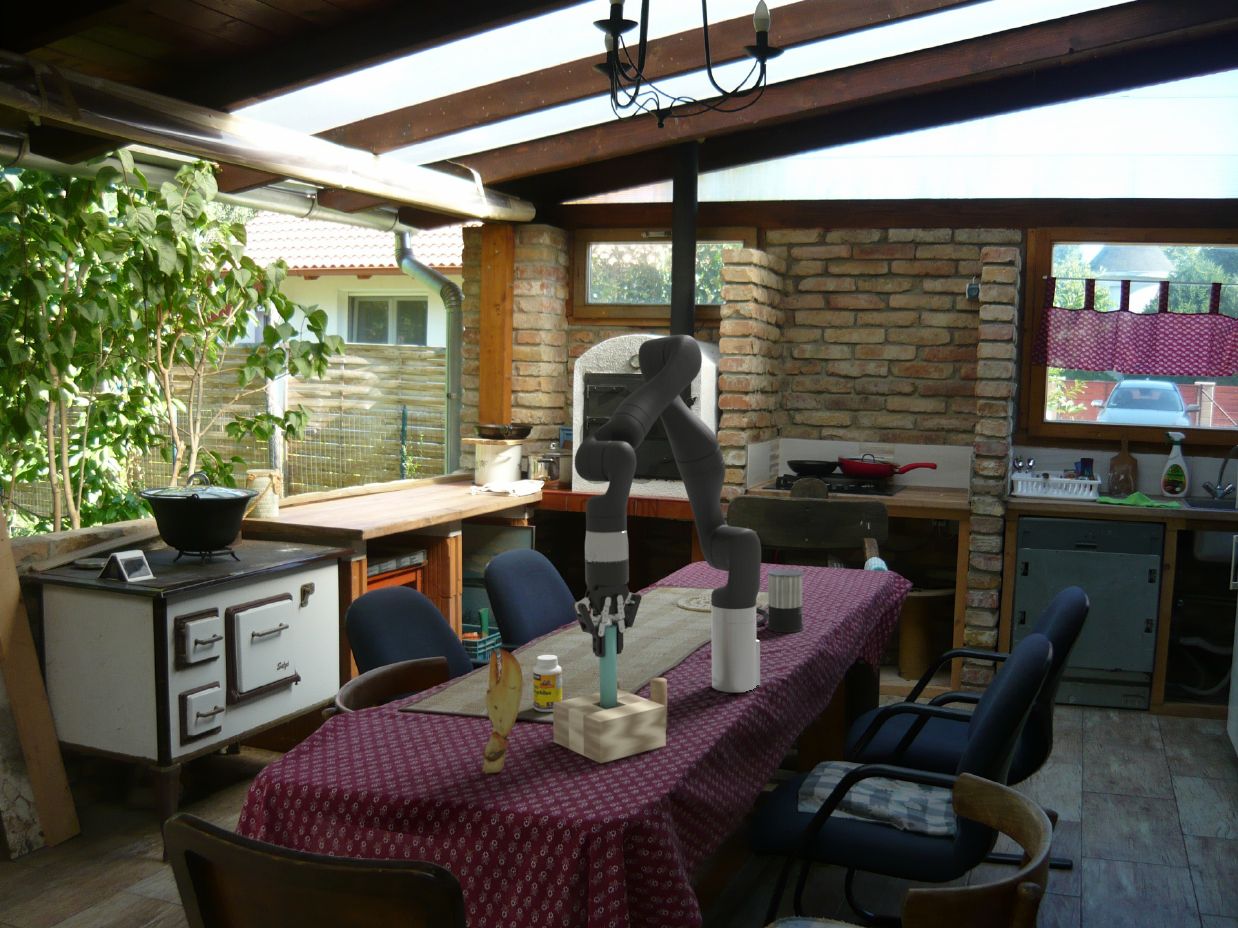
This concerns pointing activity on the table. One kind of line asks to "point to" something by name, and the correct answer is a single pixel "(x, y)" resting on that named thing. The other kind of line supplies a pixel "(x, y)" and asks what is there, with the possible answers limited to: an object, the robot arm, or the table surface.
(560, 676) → the supplement bottle
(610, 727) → the hole block
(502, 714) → the crab claw
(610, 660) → the long pin
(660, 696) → the medium pin
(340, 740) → the table surface
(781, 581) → the milk frother
